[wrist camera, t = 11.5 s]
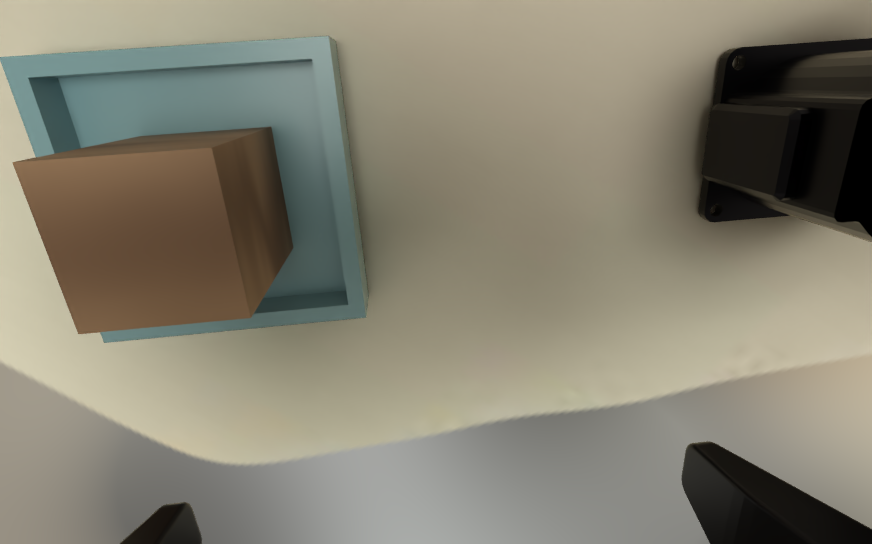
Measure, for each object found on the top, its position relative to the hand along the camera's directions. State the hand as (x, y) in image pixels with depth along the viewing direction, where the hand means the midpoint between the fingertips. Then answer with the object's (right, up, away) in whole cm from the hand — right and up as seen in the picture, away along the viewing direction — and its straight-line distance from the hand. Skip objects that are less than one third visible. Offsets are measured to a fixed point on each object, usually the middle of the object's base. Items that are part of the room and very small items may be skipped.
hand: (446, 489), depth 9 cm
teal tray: (-8, +7, +9) cm, 14 cm away
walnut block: (-8, +7, +9) cm, 14 cm away
